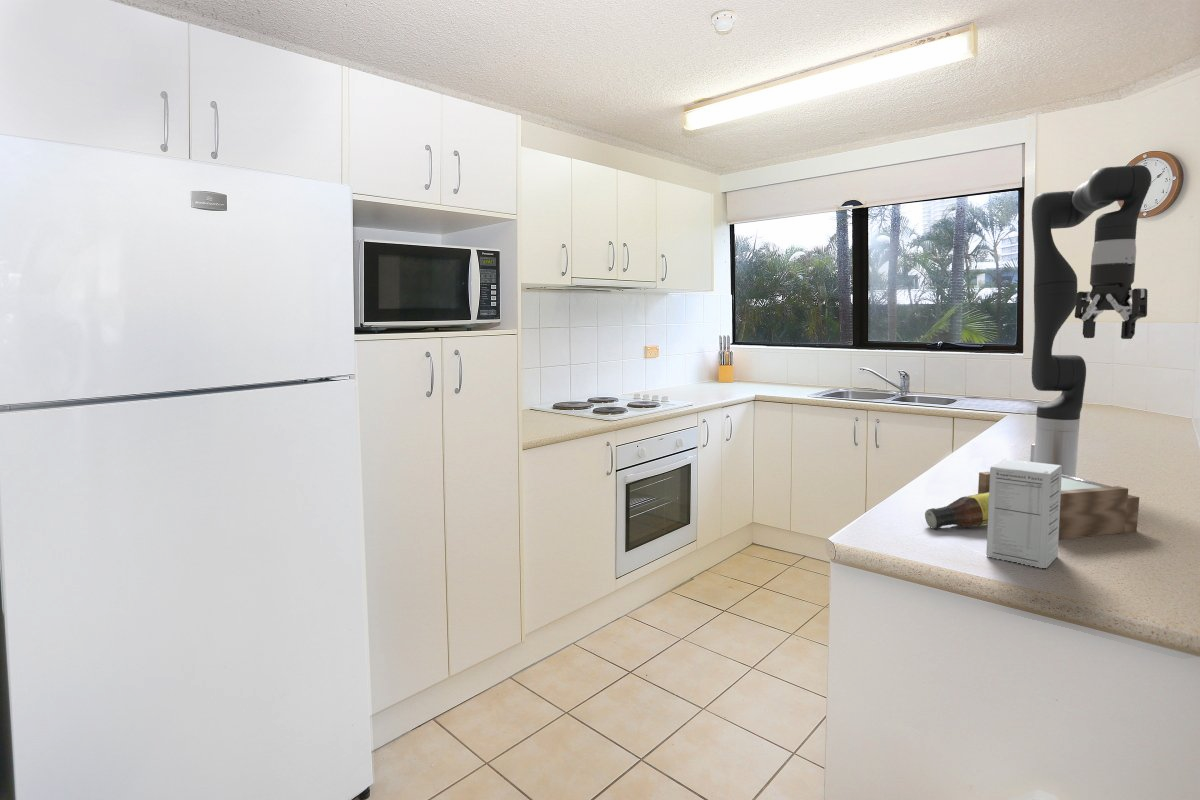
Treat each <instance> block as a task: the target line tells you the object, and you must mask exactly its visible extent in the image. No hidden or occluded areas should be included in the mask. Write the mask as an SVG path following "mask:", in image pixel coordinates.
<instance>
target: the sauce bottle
mask: <svg viewBox="0 0 1200 800" xmlns="http://www.w3.org/2000/svg"><path fill="white" fill-rule="evenodd" d="M988 504H989V492H986V493H981V494H978V493H977V494H972V495H967V496H962V497H960V498H958V499H956V500H954V501H953V502H951V503H949V504H948V505H946V506H942V507H937V508H933V507H931V508H928V509H926V510H925V513H924V519H925V522H926V524H927V525H928V527H929V526H930V527H932V528H936V529H941V528H942V527H945V526H952V525H953V526H954V525H955V526H958V527H961V528H964V527H965V528H970V527H975V526H977V527H978V526H983V525H988ZM930 527H929V528H930ZM932 528H931V529H932Z"/></svg>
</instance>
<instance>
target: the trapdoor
mask: <svg viewBox="0 0 1200 800" xmlns="http://www.w3.org/2000/svg"><path fill="white" fill-rule="evenodd" d="M1101 487H1113V486H1111V485H1108V484H1103V483H1099V482H1097V481H1096V482H1095V481H1091V480H1087V479H1084V478H1078V477H1076V478H1075V477H1071V476H1067V475H1063V474H1062V478H1061V491H1063V490H1076V489H1088V488H1101Z"/></svg>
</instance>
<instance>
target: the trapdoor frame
mask: <svg viewBox="0 0 1200 800" xmlns="http://www.w3.org/2000/svg"><path fill="white" fill-rule="evenodd" d="M989 486H990V471H983V472H978V485H977V488H978V489H977V494H981V493H986V492H989ZM1139 509H1140V496H1136V495H1131V494H1129V487H1123V486H1120V485H1116V486H1115V485H1114V486H1112V487H1101V488H1088V489H1076V490H1063V491H1061V498H1060V518H1059V539H1058V540H1061V539H1073V538H1074V537H1075V538H1082V537H1083V538H1084V536H1085V537H1095V536H1102V535H1103V536H1105V535H1113V534H1115V535H1116V534H1124V533H1125V534H1126V533H1134V532H1135V531H1136V532H1137V531H1138V530H1137V529H1138V520H1139V519H1138V517H1139Z"/></svg>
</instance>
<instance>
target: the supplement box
mask: <svg viewBox="0 0 1200 800" xmlns="http://www.w3.org/2000/svg"><path fill="white" fill-rule="evenodd" d="M989 472H990V486H989V504H988V524H987V533H986V535H987V536H986V555H987V556H989V557H993V558H992V559H994V558H998V559H997V560H999V559H1003V560H1002V561H1004V560H1008V561H1012V562H1011V563H1013V562H1017V563H1016V564H1018V563H1021V564H1020V565H1023V564H1025V565H1024V566H1028V565H1030V566H1029V567H1032V566H1035V567H1034V568H1037V567H1039V568H1038V569H1042V568H1046V569H1047V568H1048V567H1049V566H1050V565H1051V564H1052V563H1053V562H1054V561H1055V559H1056V558H1057V557H1058V555H1059V540H1060V539H1059V518H1060V498H1061V478H1062V465H1054V464H1045V463H1036V462H1030V461H1025V460H1016V459H1007V458H1006V459H1003V460H1001V461H999V462H998V463H997V462H996V463H995V464H994V465H992V466H990V467H989ZM989 557H988V558H989ZM1008 561H1007V562H1008Z"/></svg>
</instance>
